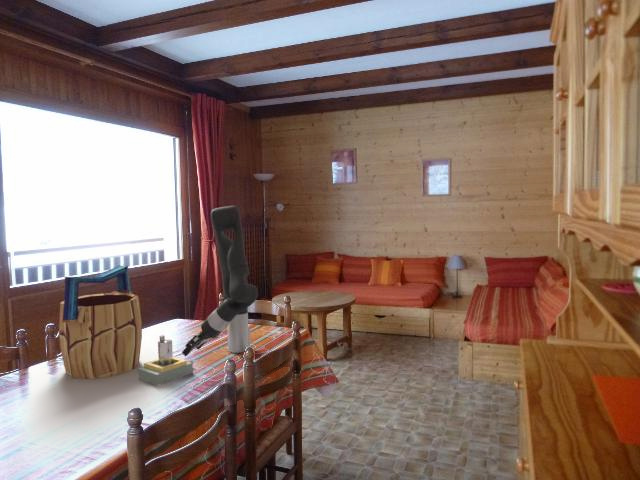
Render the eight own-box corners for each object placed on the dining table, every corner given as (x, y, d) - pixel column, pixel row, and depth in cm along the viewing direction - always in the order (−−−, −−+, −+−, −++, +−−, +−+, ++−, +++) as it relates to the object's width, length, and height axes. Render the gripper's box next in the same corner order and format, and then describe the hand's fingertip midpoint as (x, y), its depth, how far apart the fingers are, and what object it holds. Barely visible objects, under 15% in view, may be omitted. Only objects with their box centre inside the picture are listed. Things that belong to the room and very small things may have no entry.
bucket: (97, 352, 213) (93, 265, 211) (161, 354, 209) (157, 265, 206) (33, 383, 175) (27, 277, 172) (109, 387, 170) (104, 278, 168)
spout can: (167, 366, 185) (166, 332, 184) (176, 368, 182) (174, 334, 181) (156, 370, 180) (154, 335, 180) (164, 372, 177) (162, 337, 177)
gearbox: (182, 364, 194) (181, 351, 194) (200, 370, 187) (200, 356, 187) (138, 378, 178) (137, 364, 178) (157, 385, 171) (156, 370, 171)
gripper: (219, 311, 180) (194, 338, 185) (199, 319, 167) (173, 349, 171) (232, 325, 179) (206, 352, 183) (213, 335, 166) (186, 364, 170)
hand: (190, 350), depth 177 cm, fingers open, 8 cm apart
